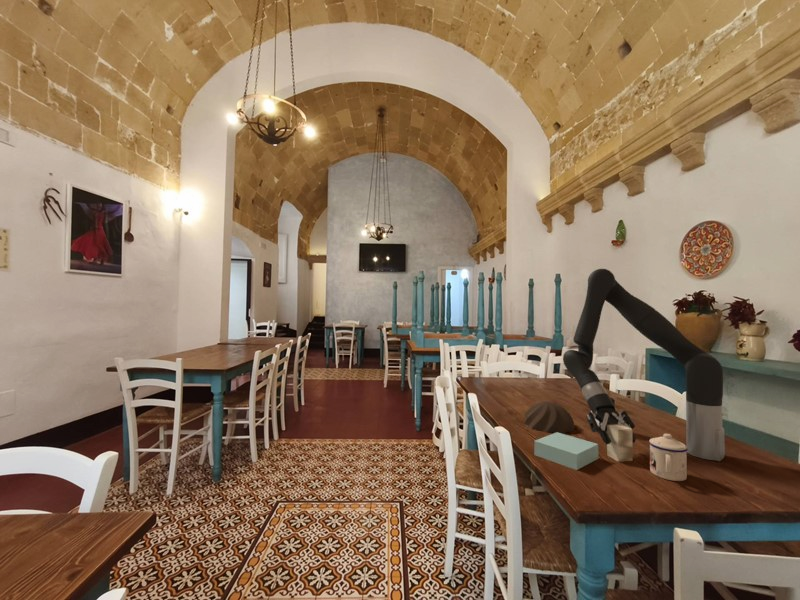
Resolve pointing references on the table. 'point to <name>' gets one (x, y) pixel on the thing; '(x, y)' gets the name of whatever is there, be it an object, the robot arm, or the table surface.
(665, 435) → the teacup with lid
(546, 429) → the decorative dome
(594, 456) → the teal block
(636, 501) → the table surface
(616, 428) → the birch block
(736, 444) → the table surface
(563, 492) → the table surface
